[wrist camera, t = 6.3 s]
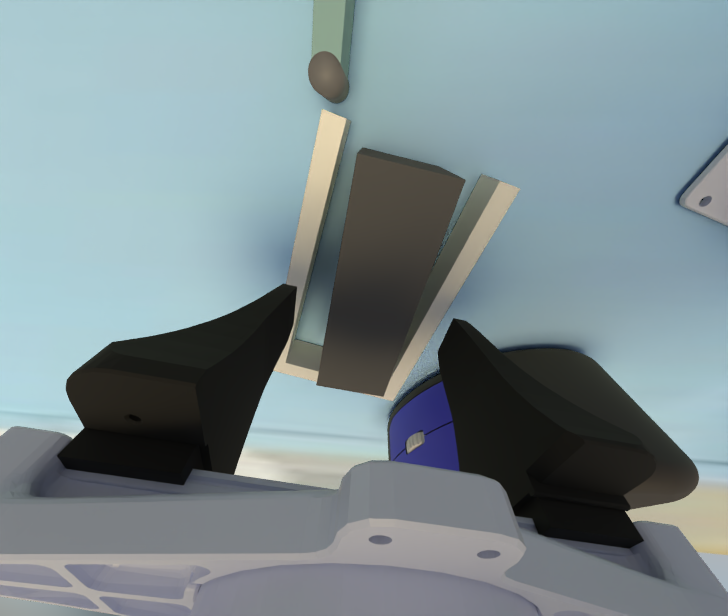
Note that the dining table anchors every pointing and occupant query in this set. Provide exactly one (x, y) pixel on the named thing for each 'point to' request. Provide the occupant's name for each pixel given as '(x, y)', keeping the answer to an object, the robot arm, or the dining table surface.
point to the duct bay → (443, 280)
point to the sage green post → (331, 48)
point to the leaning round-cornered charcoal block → (569, 380)
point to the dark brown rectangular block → (383, 266)
